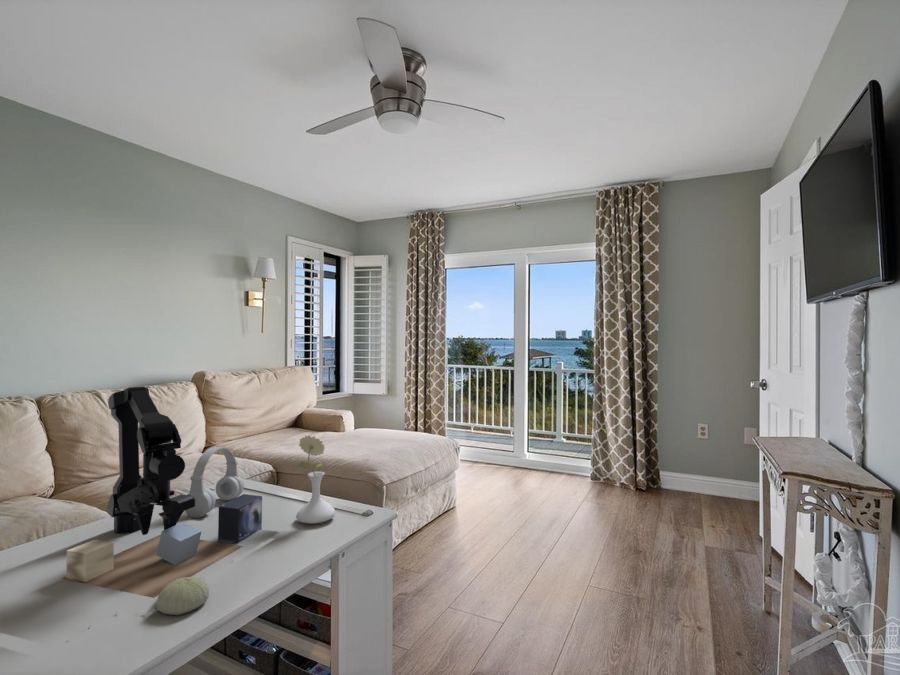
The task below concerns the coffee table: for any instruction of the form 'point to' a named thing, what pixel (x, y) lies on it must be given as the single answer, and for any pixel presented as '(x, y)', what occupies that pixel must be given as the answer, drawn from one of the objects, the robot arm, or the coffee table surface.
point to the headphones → (225, 486)
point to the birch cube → (90, 560)
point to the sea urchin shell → (182, 596)
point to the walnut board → (156, 567)
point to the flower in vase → (314, 486)
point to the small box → (239, 518)
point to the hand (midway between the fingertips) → (156, 536)
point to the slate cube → (178, 543)
